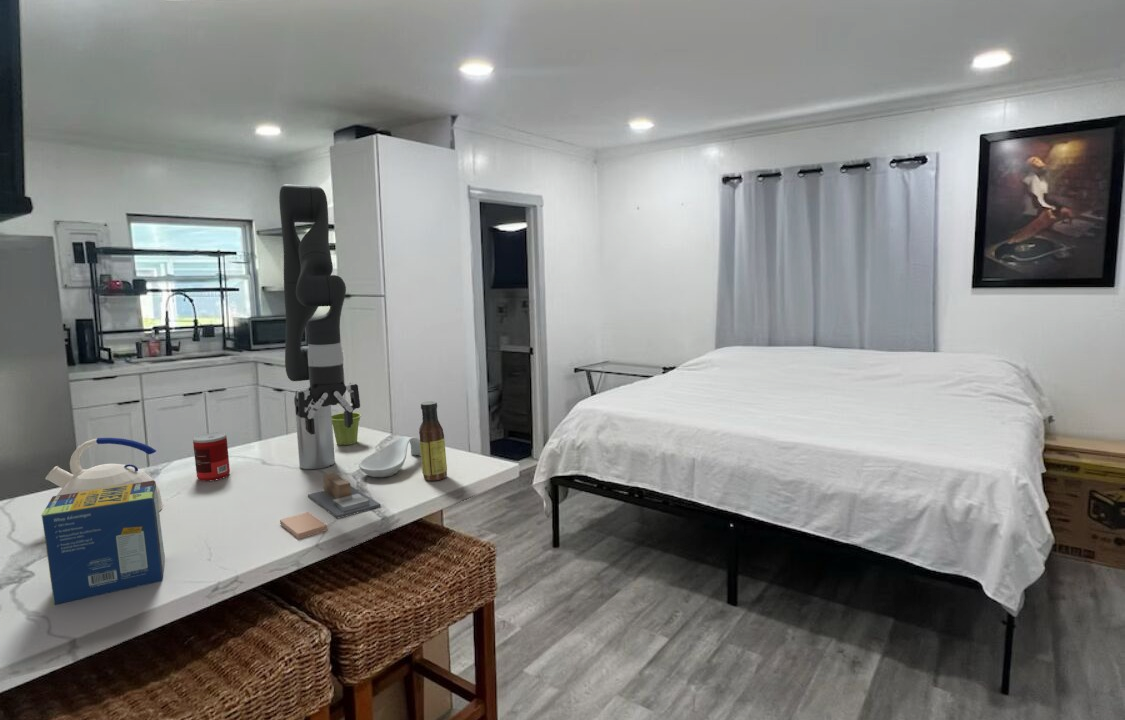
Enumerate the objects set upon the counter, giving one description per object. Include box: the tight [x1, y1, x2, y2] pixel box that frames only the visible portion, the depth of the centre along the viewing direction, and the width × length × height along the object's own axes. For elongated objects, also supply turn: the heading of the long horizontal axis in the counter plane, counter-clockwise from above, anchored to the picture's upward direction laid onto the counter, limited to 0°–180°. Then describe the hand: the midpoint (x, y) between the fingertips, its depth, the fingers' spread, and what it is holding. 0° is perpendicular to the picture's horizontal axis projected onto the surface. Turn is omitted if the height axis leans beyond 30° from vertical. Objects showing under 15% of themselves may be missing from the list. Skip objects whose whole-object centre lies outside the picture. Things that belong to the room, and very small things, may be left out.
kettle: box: [45, 437, 164, 512], centre depth 139 cm, size 20×21×18 cm
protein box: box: [40, 479, 166, 605], centre depth 109 cm, size 10×15×16 cm
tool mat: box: [307, 485, 381, 519], centre depth 146 cm, size 18×10×1 cm, turn 41°
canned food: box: [192, 432, 231, 482], centre depth 165 cm, size 8×8×11 cm
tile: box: [279, 511, 328, 539], centre depth 132 cm, size 2×6×10 cm
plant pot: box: [332, 412, 362, 446], centre depth 196 cm, size 9×9×9 cm
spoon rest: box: [358, 435, 421, 478], centre depth 171 cm, size 24×12×7 cm, turn 162°
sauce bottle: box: [418, 400, 448, 482], centre depth 161 cm, size 7×6×20 cm
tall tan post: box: [322, 472, 369, 511], centre depth 146 cm, size 16×6×4 cm, turn 41°
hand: (330, 430), depth 148 cm, fingers open, 8 cm apart
